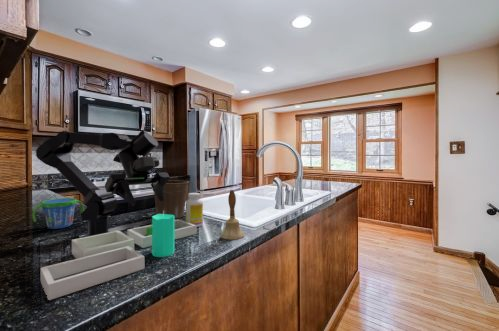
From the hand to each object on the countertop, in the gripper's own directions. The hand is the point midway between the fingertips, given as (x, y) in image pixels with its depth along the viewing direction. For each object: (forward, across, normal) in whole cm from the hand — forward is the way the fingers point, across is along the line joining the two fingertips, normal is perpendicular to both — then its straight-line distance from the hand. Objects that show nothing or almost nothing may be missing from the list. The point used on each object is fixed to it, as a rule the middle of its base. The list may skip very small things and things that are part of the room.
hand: (149, 203), depth 73 cm
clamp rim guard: (+6, +8, +12) cm, 16 cm away
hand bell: (+19, +23, -1) cm, 30 cm away
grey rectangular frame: (+15, -17, +4) cm, 23 cm away
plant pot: (-8, +26, +28) cm, 40 cm away
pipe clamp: (+6, +8, +13) cm, 16 cm away
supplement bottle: (+5, +23, +14) cm, 28 cm away
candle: (+15, 0, +3) cm, 16 cm away
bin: (+7, -11, +12) cm, 18 cm away
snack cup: (-21, -10, +42) cm, 48 cm away
